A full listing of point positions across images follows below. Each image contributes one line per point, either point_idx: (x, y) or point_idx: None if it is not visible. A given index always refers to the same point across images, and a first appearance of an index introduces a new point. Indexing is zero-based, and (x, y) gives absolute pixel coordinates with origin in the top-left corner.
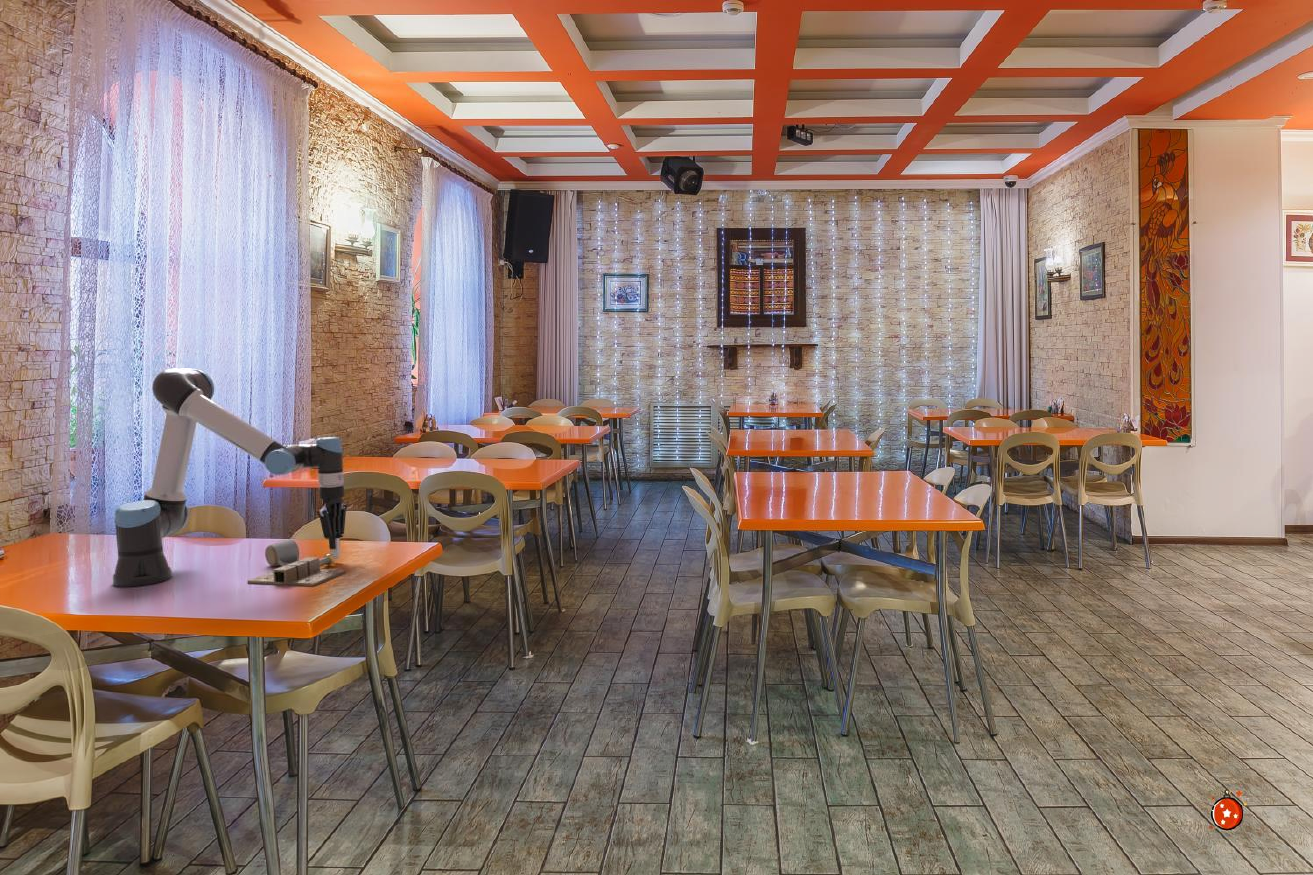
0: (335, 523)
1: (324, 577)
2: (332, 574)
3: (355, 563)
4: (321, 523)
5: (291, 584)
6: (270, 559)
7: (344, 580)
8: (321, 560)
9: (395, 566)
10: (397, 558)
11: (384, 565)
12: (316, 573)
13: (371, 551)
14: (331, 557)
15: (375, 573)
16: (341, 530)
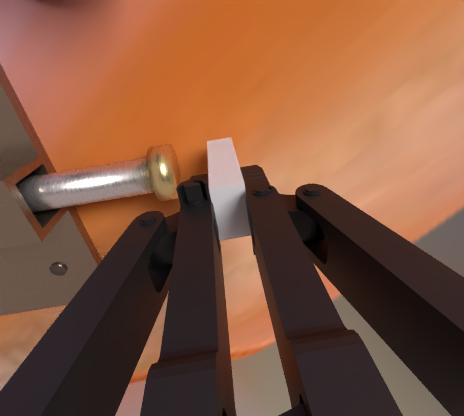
0: (228, 337)
1: (2, 305)
2: (46, 300)
3: None
4: (46, 339)
5: None
6: None
7: None
8: (91, 200)
9: (237, 344)
10: (330, 297)
11: (239, 318)
12: (14, 248)
13: (453, 144)
14: (160, 200)
15: (153, 350)
16: (306, 249)
